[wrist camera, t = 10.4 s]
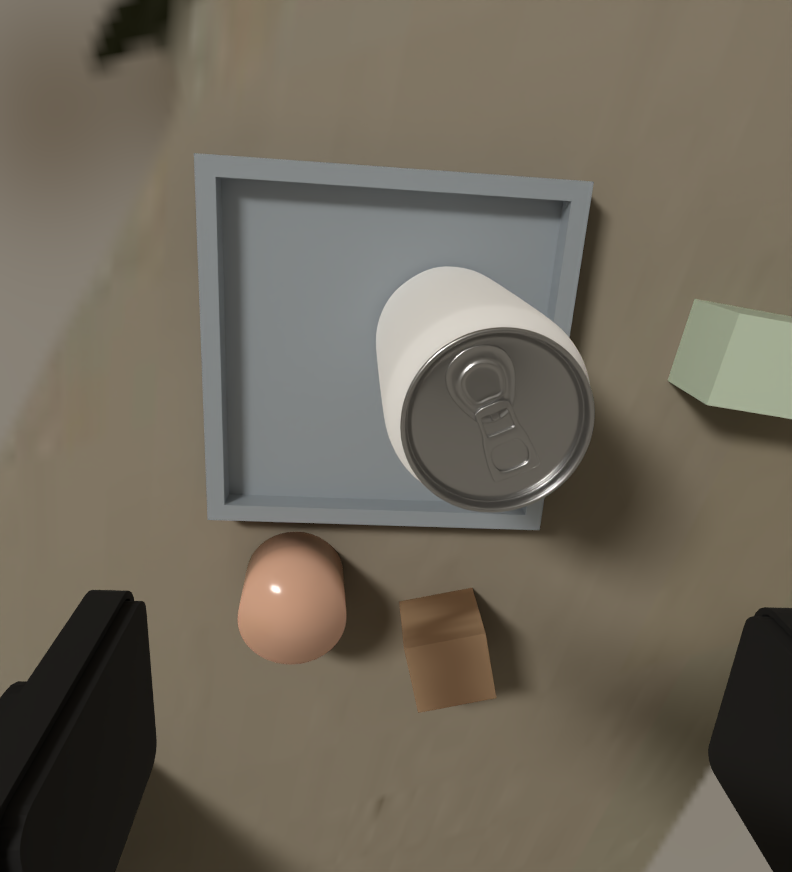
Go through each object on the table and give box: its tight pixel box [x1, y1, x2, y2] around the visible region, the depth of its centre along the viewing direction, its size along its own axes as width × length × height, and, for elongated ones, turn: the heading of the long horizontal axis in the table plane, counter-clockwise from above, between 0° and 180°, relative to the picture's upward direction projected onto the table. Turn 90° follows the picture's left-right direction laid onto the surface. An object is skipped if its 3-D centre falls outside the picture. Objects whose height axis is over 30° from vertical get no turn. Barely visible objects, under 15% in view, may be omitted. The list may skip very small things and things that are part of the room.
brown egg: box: [238, 532, 346, 664], centre depth 33 cm, size 5×5×4 cm
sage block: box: [668, 299, 792, 419], centre depth 30 cm, size 6×4×4 cm, turn 80°
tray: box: [194, 153, 594, 530], centre depth 30 cm, size 16×16×2 cm
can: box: [376, 266, 595, 512], centre depth 25 cm, size 6×6×12 cm
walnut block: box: [399, 588, 496, 713], centre depth 35 cm, size 4×4×4 cm
